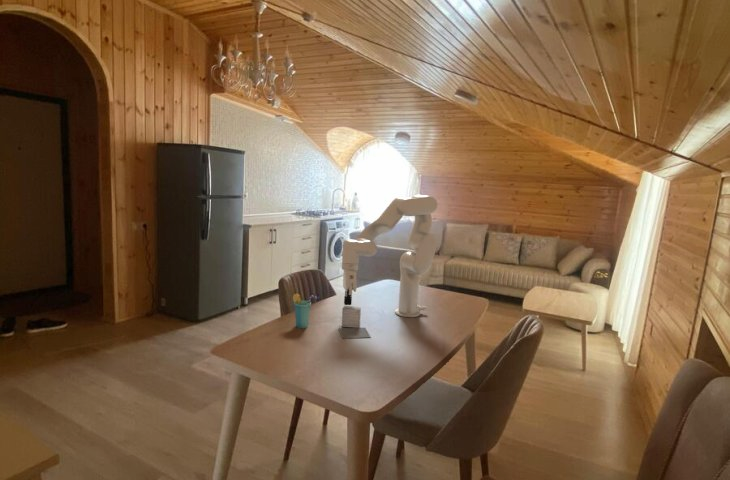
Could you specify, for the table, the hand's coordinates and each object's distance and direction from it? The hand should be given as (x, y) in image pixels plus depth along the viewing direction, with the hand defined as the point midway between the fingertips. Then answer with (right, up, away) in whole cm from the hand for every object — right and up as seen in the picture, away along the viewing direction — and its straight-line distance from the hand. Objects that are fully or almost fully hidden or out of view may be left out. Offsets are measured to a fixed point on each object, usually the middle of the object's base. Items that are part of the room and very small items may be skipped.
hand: (347, 304), depth 184 cm
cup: (-19, -8, -10) cm, 23 cm away
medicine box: (+2, -9, -7) cm, 12 cm away
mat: (+4, -10, -15) cm, 19 cm away
